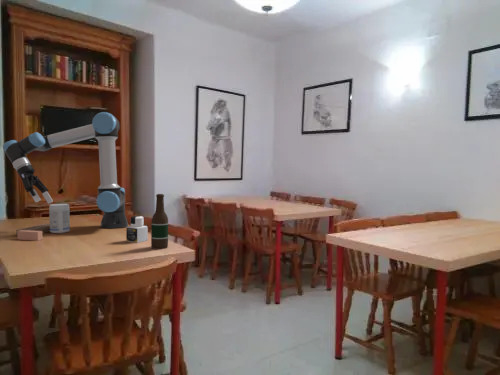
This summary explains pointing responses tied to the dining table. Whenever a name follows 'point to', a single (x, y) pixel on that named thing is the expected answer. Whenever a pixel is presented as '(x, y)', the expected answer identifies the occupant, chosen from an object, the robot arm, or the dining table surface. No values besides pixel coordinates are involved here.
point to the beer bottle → (159, 225)
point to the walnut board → (37, 228)
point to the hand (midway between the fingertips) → (44, 202)
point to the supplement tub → (59, 218)
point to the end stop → (29, 235)
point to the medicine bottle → (137, 230)
